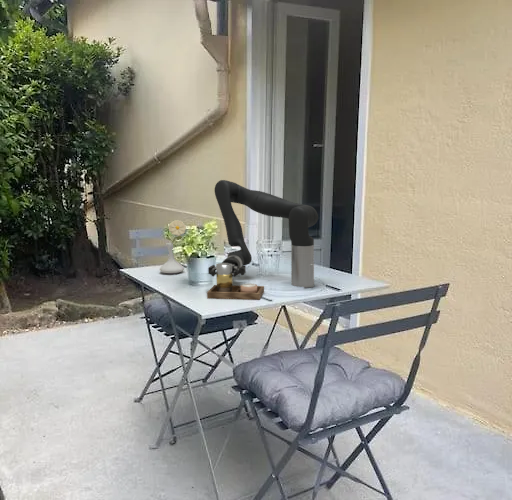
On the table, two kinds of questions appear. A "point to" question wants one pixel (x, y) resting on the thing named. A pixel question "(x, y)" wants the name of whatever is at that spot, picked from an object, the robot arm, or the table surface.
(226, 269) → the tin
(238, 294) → the tray
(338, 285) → the table surface
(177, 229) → the flower in vase
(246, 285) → the ramekin
